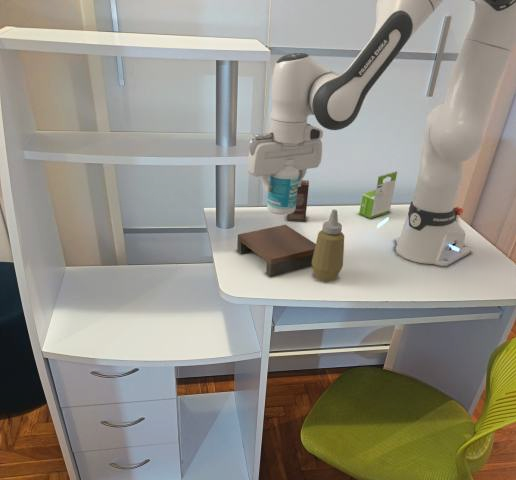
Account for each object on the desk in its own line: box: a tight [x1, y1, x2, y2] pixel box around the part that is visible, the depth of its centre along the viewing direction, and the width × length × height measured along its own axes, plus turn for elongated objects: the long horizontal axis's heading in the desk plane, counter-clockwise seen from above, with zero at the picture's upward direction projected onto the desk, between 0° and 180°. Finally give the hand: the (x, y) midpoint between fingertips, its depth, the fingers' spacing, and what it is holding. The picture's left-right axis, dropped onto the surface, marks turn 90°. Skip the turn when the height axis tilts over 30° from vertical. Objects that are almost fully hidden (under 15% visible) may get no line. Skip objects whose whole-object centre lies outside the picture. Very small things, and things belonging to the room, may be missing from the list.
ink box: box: [358, 170, 398, 220], centre depth 166 cm, size 10×5×14 cm, turn 130°
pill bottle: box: [266, 159, 299, 216], centre depth 128 cm, size 8×7×14 cm
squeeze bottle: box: [311, 209, 345, 282], centre depth 127 cm, size 8×8×18 cm
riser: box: [236, 224, 316, 278], centre depth 139 cm, size 16×17×5 cm
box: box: [286, 179, 310, 222], centre depth 160 cm, size 6×4×12 cm
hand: (282, 188), depth 129 cm, fingers closed on pill bottle, 7 cm apart
